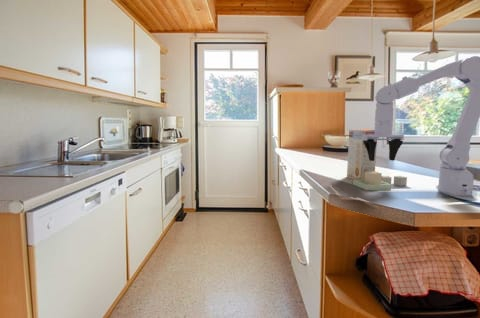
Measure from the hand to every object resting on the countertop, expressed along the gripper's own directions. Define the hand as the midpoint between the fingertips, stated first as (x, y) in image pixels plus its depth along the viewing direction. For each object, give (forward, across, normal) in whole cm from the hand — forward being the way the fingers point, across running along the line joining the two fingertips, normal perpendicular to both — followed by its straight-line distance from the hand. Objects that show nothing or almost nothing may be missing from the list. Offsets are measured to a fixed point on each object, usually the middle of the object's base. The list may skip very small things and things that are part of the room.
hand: (381, 160), depth 112 cm
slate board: (+10, -6, 0) cm, 12 cm away
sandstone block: (+10, +3, +1) cm, 10 cm away
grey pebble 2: (+10, -9, -2) cm, 13 cm away
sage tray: (+10, +4, 0) cm, 11 cm away
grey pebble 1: (+10, -3, -3) cm, 10 cm away
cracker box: (+10, +2, -12) cm, 16 cm away
